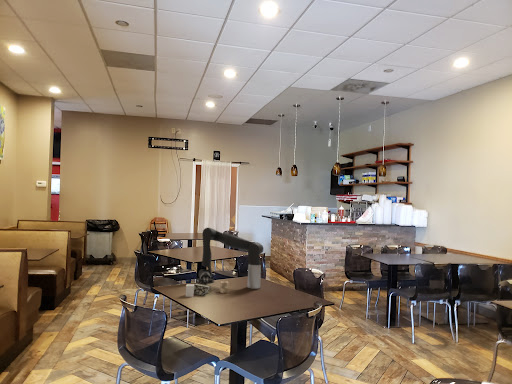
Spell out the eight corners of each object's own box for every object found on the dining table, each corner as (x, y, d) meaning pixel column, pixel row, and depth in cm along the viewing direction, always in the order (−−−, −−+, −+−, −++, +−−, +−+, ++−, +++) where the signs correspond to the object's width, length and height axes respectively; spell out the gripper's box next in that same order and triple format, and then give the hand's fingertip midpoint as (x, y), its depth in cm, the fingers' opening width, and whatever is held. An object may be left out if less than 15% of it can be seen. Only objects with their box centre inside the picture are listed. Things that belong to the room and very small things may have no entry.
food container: (194, 292, 248) (189, 293, 238) (196, 283, 249) (191, 284, 239) (211, 295, 245) (207, 296, 236) (213, 286, 246) (208, 287, 237)
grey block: (193, 294, 238) (194, 284, 238) (193, 296, 233) (193, 285, 233) (185, 294, 237) (186, 284, 237) (185, 296, 232) (186, 285, 232)
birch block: (227, 291, 253) (227, 281, 253) (227, 293, 248) (228, 282, 248) (220, 291, 252) (220, 281, 253) (220, 292, 247) (221, 282, 248)
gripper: (196, 272, 264) (196, 277, 247) (214, 273, 266) (215, 277, 249) (196, 283, 263) (195, 288, 246) (214, 283, 265) (215, 288, 248)
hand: (205, 283), depth 247 cm, fingers closed
